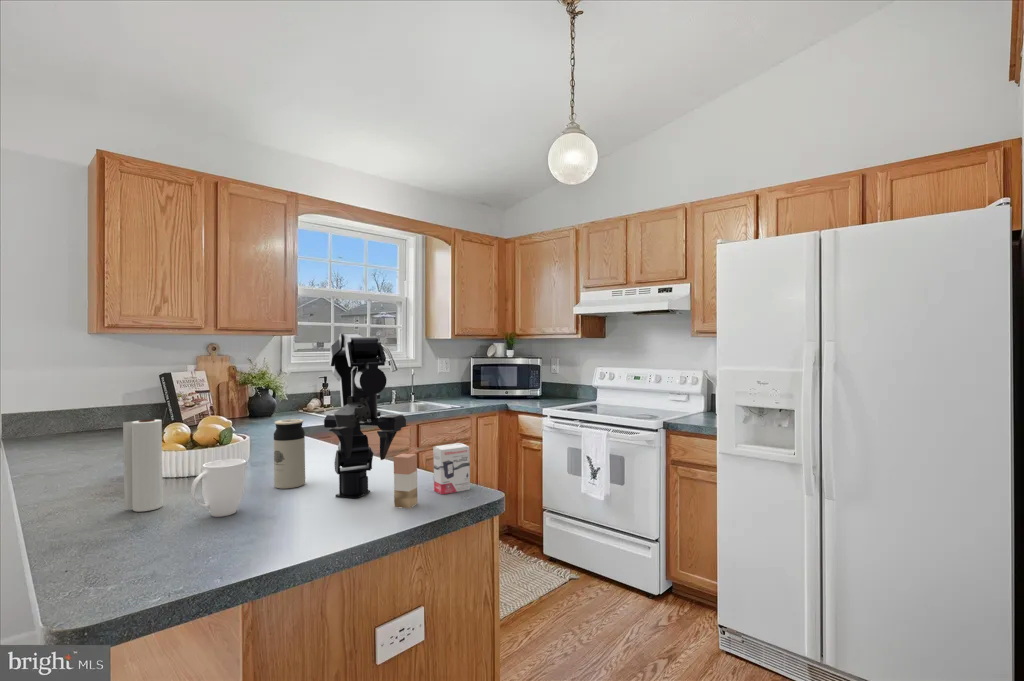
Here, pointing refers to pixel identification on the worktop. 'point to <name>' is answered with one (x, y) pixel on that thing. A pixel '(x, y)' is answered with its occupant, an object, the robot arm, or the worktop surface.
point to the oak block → (405, 498)
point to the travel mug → (289, 454)
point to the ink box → (451, 468)
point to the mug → (221, 486)
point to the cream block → (405, 481)
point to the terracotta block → (405, 463)
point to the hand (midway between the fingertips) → (365, 458)
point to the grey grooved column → (142, 465)
